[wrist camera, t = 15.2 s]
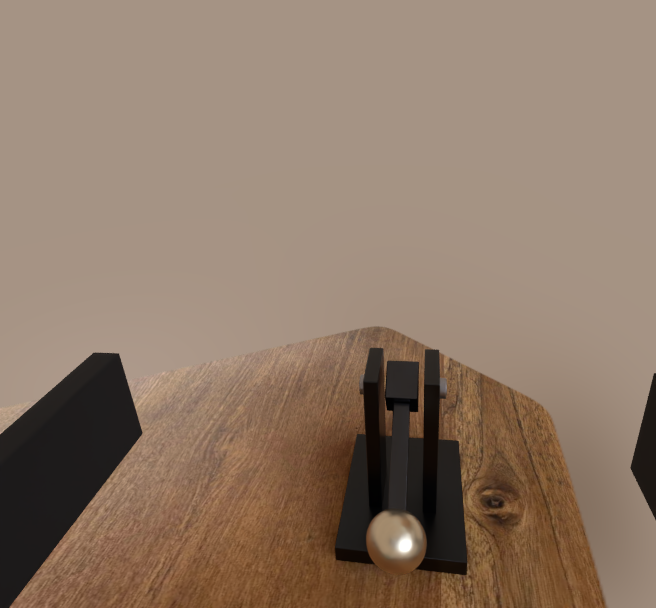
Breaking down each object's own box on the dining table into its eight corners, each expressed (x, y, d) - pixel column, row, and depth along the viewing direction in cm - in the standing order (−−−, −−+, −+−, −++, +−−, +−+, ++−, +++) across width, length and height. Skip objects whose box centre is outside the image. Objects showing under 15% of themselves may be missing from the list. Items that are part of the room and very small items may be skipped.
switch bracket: (466, 575, 34) (477, 425, 28) (335, 560, 35) (322, 416, 30) (457, 451, 44) (464, 325, 39) (357, 444, 46) (350, 322, 40)
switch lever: (426, 581, 30) (426, 575, 27) (366, 574, 31) (360, 567, 28) (428, 380, 37) (429, 357, 34) (380, 378, 38) (376, 356, 35)
